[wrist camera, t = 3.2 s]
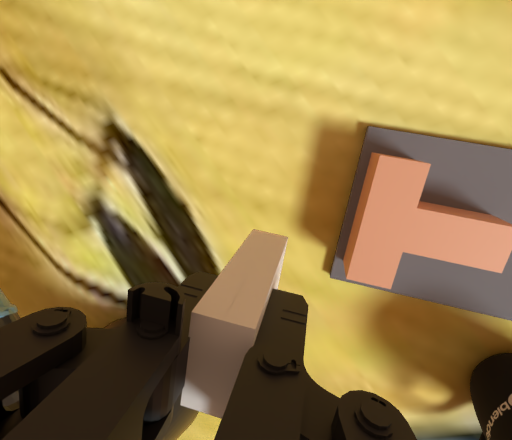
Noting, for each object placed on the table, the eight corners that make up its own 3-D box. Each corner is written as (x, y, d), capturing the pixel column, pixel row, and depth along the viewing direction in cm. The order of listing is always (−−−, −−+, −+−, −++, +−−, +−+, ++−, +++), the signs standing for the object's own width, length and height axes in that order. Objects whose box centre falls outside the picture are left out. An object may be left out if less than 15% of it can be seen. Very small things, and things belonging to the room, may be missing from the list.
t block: (343, 260, 29) (346, 278, 26) (371, 152, 26) (379, 155, 23) (463, 287, 28) (485, 311, 24) (507, 175, 25) (540, 183, 21)
